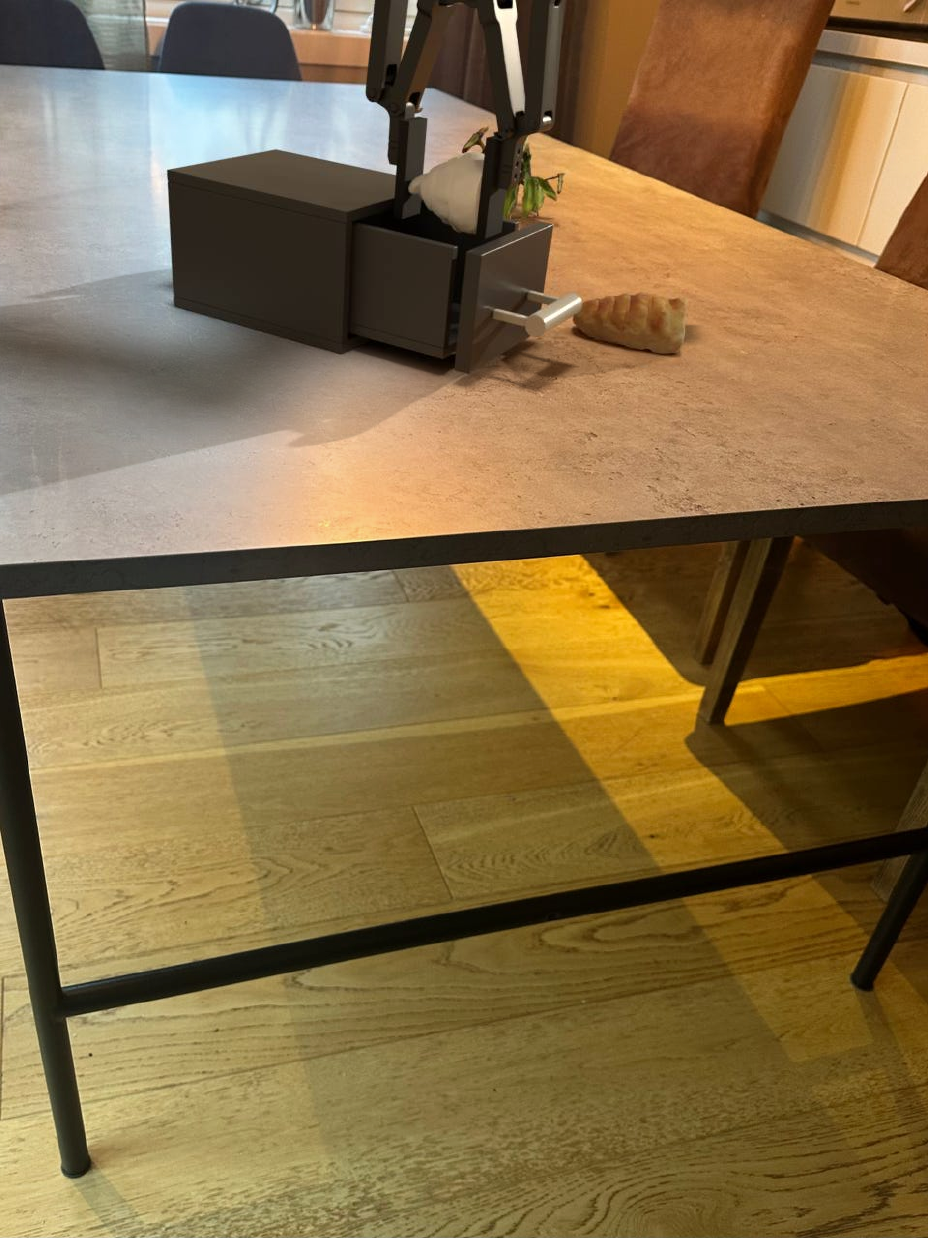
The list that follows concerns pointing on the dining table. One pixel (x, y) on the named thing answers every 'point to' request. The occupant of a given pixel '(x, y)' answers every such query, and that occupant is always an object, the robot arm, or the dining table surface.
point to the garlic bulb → (453, 191)
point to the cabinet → (272, 241)
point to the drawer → (451, 287)
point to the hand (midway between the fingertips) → (447, 223)
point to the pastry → (635, 321)
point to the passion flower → (532, 184)
